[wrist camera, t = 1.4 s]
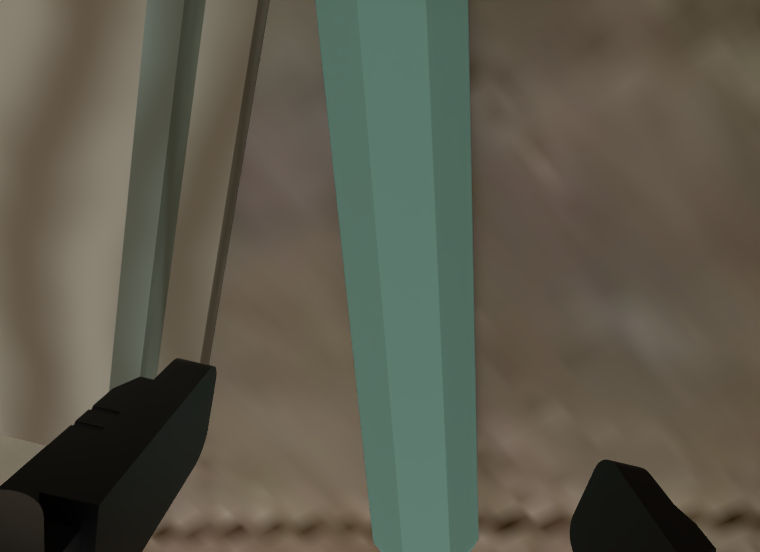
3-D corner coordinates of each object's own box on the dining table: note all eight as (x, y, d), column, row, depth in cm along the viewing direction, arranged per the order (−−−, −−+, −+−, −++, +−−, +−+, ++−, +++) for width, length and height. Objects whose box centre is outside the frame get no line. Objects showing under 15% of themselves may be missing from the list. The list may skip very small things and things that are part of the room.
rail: (283, -83, 16) (260, -128, 13) (192, 461, 23) (165, 502, 20) (-109, -196, 15) (-212, -265, 13) (-83, 393, 22) (-147, 426, 20)
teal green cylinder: (473, 637, 17) (452, -167, 10) (340, 584, 20) (247, -90, 12) (501, 519, 22) (501, -69, 15) (393, 489, 25) (348, -28, 18)
